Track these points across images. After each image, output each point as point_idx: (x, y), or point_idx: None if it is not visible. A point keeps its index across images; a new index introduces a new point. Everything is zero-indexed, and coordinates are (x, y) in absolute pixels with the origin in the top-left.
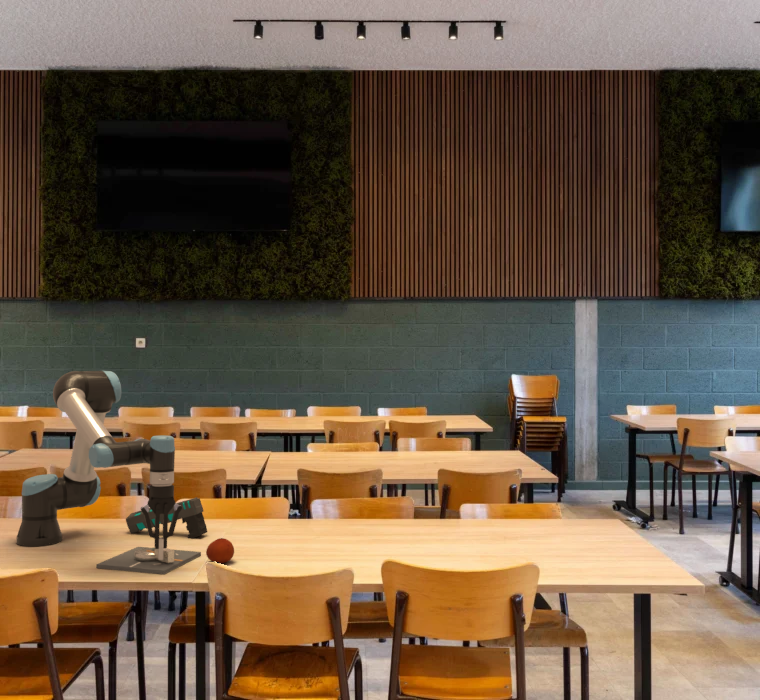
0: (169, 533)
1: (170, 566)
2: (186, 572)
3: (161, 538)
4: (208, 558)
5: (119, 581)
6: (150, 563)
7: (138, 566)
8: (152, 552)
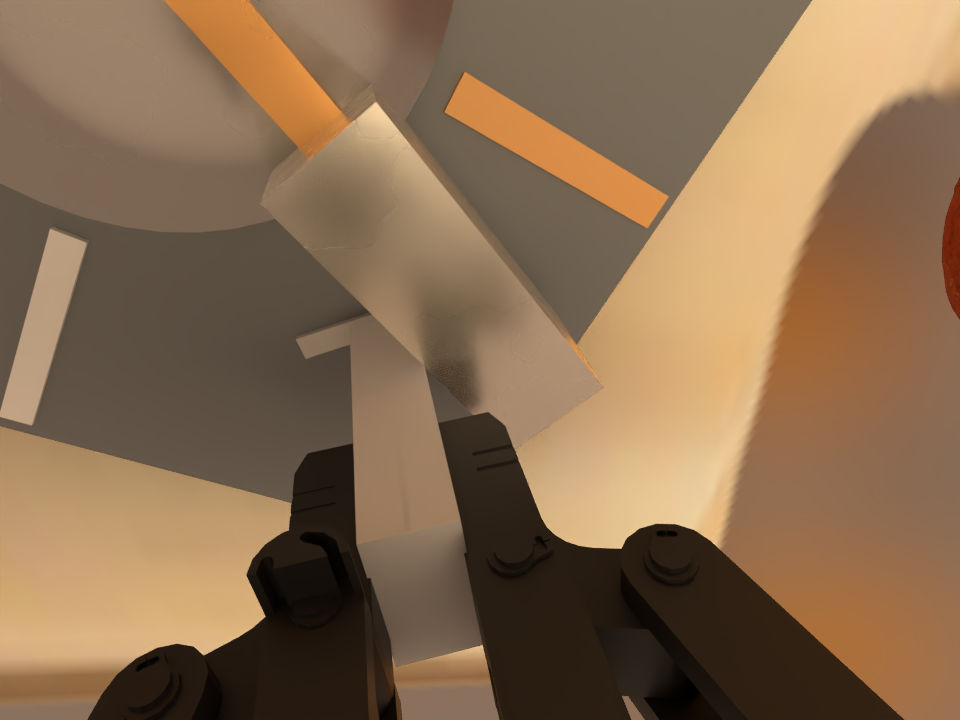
0: (635, 702)
1: None
2: (630, 468)
3: (439, 612)
4: (945, 224)
5: (71, 662)
6: (249, 284)
7: (121, 398)
8: (203, 40)
